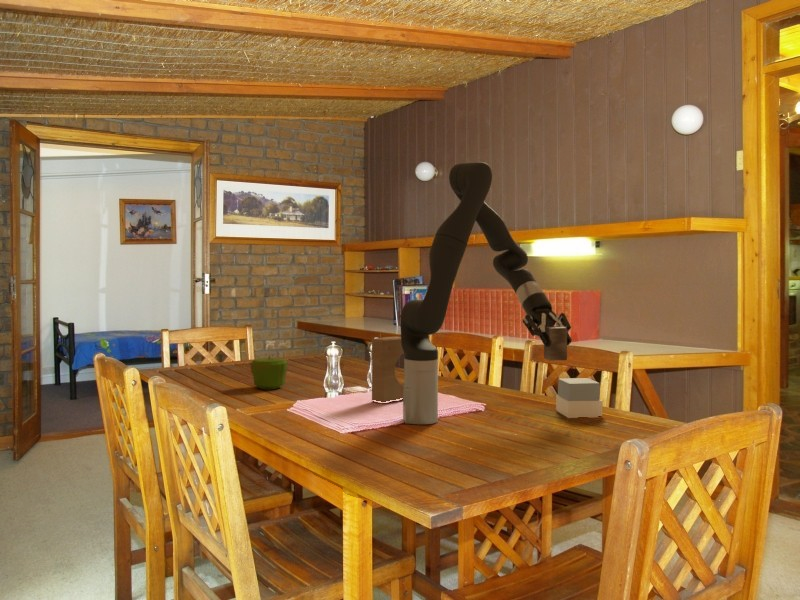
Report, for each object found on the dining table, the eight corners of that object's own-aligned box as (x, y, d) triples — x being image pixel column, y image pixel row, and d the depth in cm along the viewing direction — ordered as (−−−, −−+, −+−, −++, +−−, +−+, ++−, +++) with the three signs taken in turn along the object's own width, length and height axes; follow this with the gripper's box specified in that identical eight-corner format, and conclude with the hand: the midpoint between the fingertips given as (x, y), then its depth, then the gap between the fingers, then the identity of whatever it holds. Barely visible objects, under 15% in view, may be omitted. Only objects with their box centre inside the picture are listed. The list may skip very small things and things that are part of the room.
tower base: (567, 419, 190) (568, 401, 190) (556, 411, 200) (556, 394, 200) (602, 418, 191) (602, 400, 191) (588, 411, 201) (589, 394, 201)
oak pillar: (549, 360, 188) (549, 328, 187) (543, 358, 193) (544, 326, 192) (566, 360, 188) (567, 328, 188) (560, 357, 193) (561, 326, 193)
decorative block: (395, 397, 220) (395, 336, 219) (408, 399, 216) (408, 337, 215) (370, 401, 212) (370, 338, 211) (383, 404, 208) (383, 339, 207)
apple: (292, 385, 241) (292, 354, 241) (278, 391, 230) (278, 358, 229) (260, 384, 244) (260, 353, 244) (245, 390, 232) (244, 357, 232)
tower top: (568, 401, 190) (569, 383, 190) (557, 395, 199) (558, 378, 199) (599, 400, 191) (599, 383, 191) (587, 394, 200) (587, 378, 200)
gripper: (518, 292, 193) (544, 337, 183) (558, 290, 199) (586, 334, 189) (507, 309, 198) (532, 354, 188) (547, 307, 204) (573, 351, 194)
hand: (559, 344), depth 189 cm, fingers closed on oak pillar, 6 cm apart
